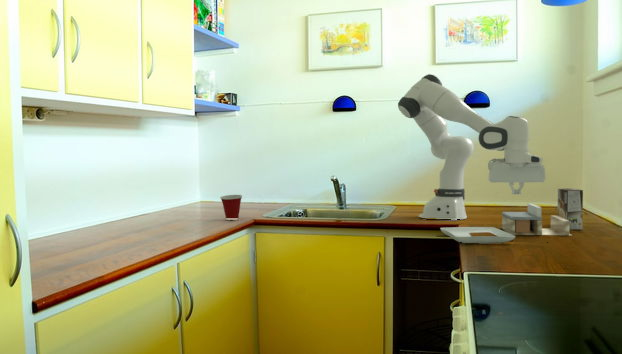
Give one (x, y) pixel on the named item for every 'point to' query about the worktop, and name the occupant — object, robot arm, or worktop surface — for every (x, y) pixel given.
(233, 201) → the plastic cup
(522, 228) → the terracotta block
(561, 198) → the coffee box
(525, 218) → the sliding roof
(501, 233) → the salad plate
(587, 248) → the worktop surface
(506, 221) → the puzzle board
